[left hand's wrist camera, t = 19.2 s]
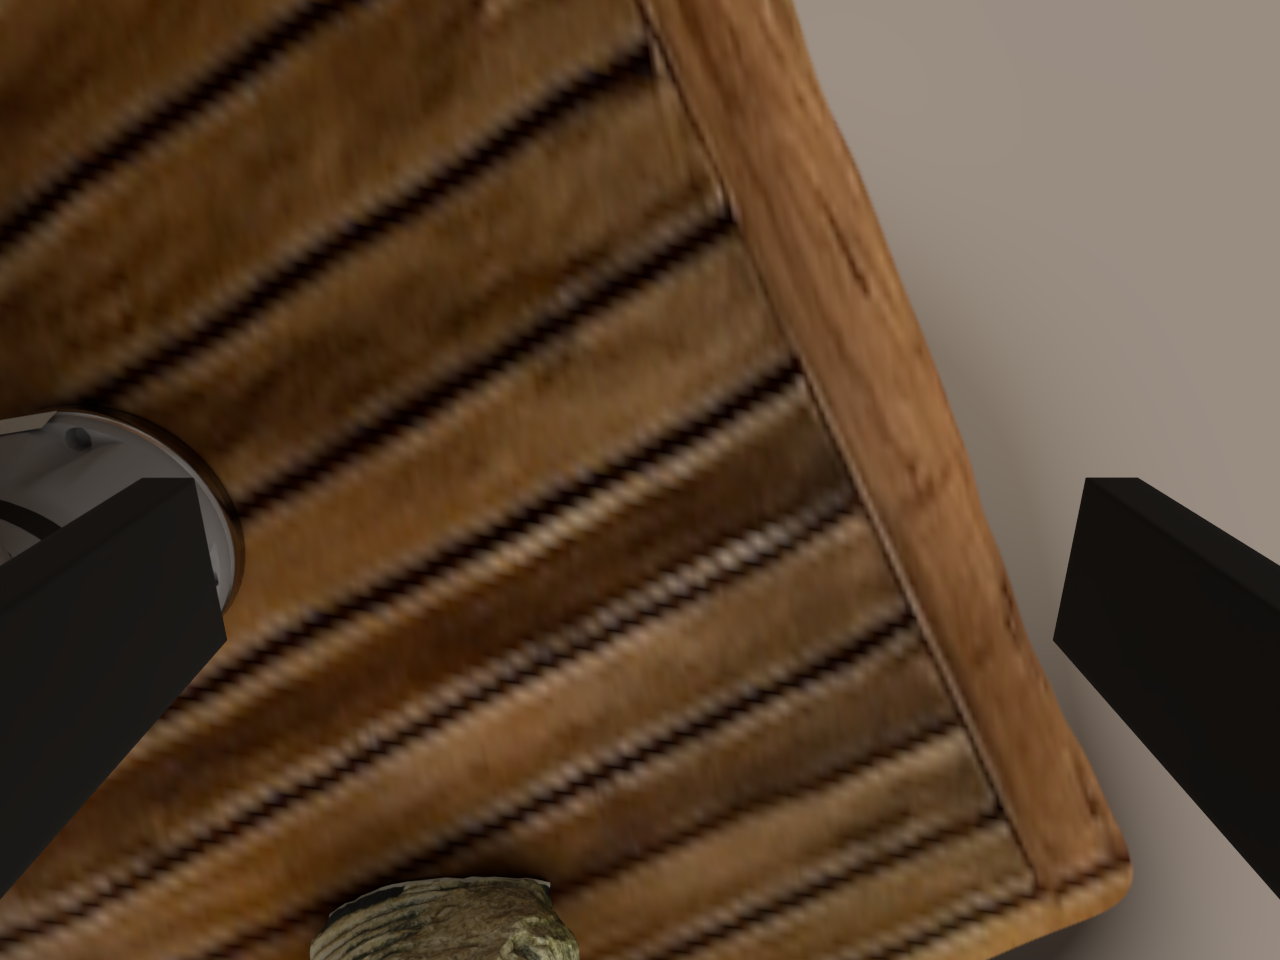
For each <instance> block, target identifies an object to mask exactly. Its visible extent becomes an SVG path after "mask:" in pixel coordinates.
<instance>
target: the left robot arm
mask: <svg viewBox="0 0 1280 960" xmlns="http://www.w3.org/2000/svg"><path fill="white" fill-rule="evenodd" d="M244 563H245V548H244V539H243V534H242V529H241V525H240V522H239V519H238V516H237V513H236V511H235V508H234V506H233V504H232V502H231V500H230V498H229V496H228V494H227V492H226V491H225V489H224V487H223V486H222V485H221V483H220V482H219V480H218V479H217V477H216V476H215V475H214V474H213V472H212V471H211V470H210V469H209V467H208V466H207V465H206V464H205V463H204V462H203V461H202V460H201V459H200V458H199V457H198V456H197V455H196V454H195V453H194V452H193V451H192V450H190V449H189V448H188V447H187V446H186V445H184V444H183V443H182V442H180V441H179V440H178V439H176V438H175V437H174V436H172V435H170V434H169V433H167V432H166V431H164V430H163V429H161V428H159V427H157V426H155V425H153V424H151V423H149V422H147V421H145V420H142V419H140V418H138V417H135V416H133V415H130V414H127V413H124V412H120V411H116V410H112V409H108V408H103V407H96V406H86V405H64V406H56V407H50V408H45V409H41V410H37V411H35V412H32V413H29V414H26V415H24V416H21V417H17V418H11V419H4V420H0V899H1V898H2V897H3V896H4V894H5V893H6V892H7V891H8V890H9V889H10V888H11V886H12V885H13V884H14V883H15V882H16V881H17V880H18V878H19V877H20V876H21V875H22V874H23V873H24V872H25V870H26V869H27V868H28V867H29V866H30V865H31V864H32V862H33V861H34V860H35V859H36V858H37V857H38V856H39V854H40V853H41V852H42V851H43V850H44V849H45V848H46V846H47V845H48V844H49V843H50V842H51V841H52V840H53V838H54V837H55V836H56V835H57V834H58V833H59V832H60V830H61V829H62V828H63V827H64V826H65V825H66V824H67V822H68V821H69V820H70V819H71V818H72V817H73V816H74V814H75V813H76V812H77V811H78V810H79V809H80V808H81V806H82V805H83V804H84V803H85V802H86V801H87V800H88V798H89V797H90V796H91V795H92V794H93V793H94V792H95V790H96V789H97V788H98V787H99V786H100V785H101V784H102V782H103V781H104V780H105V779H106V778H107V777H108V776H109V774H110V773H111V772H112V771H113V770H114V769H115V768H116V766H117V765H118V764H119V763H120V762H121V761H122V760H123V758H124V757H125V756H126V755H127V754H128V753H129V752H130V751H131V749H132V748H133V747H134V746H135V745H136V744H137V743H138V741H139V740H140V739H141V738H142V737H143V736H144V735H145V733H146V732H147V731H148V730H149V729H150V728H151V727H152V725H153V724H154V723H155V722H156V721H157V720H158V719H159V717H160V716H161V715H162V714H163V713H164V712H165V711H166V709H167V708H168V707H169V706H170V705H171V704H172V703H173V701H174V700H175V699H176V698H177V697H178V696H179V695H180V693H181V692H182V691H183V690H184V689H185V688H186V687H187V685H188V684H189V683H190V682H191V681H192V680H193V679H194V677H195V676H196V675H197V674H198V673H199V672H200V671H201V669H202V668H203V667H204V666H205V665H206V664H207V663H208V661H209V660H210V659H211V658H212V657H213V656H214V655H215V653H216V652H217V651H218V650H219V649H220V648H221V647H222V645H223V644H224V643H225V642H226V641H227V637H226V632H225V627H224V622H223V616H224V614H225V613H226V612H227V610H228V609H229V608H230V606H231V605H232V603H233V601H234V599H235V597H236V595H237V593H238V590H239V587H240V585H241V581H242V577H243V572H244ZM1053 641H1054V642H1055V643H1056V644H1057V645H1058V647H1059V648H1060V649H1061V650H1062V651H1063V652H1064V653H1065V655H1066V656H1067V657H1068V658H1069V659H1070V660H1071V661H1072V662H1073V664H1074V665H1075V666H1076V667H1077V668H1078V669H1079V671H1080V672H1081V673H1082V674H1083V675H1084V676H1085V677H1086V678H1087V680H1088V681H1089V682H1090V683H1091V684H1092V685H1093V687H1094V688H1095V689H1096V690H1097V691H1098V692H1099V693H1100V695H1101V696H1102V697H1103V698H1104V699H1105V700H1106V701H1107V702H1108V704H1109V705H1110V706H1111V707H1112V708H1113V709H1114V711H1115V712H1116V713H1117V714H1118V715H1119V716H1120V717H1121V719H1122V720H1123V721H1124V722H1125V723H1126V724H1127V725H1128V726H1129V728H1130V729H1131V730H1132V731H1133V732H1134V733H1135V734H1136V736H1137V737H1138V738H1139V739H1140V740H1141V741H1142V743H1143V744H1144V745H1145V746H1146V747H1147V748H1148V749H1149V750H1150V752H1151V753H1152V754H1153V755H1154V756H1155V757H1156V758H1157V760H1158V761H1159V762H1160V763H1161V764H1162V765H1163V766H1164V768H1165V769H1166V770H1167V771H1168V772H1169V773H1170V774H1171V776H1172V777H1173V778H1174V779H1175V780H1176V781H1177V782H1178V784H1179V785H1180V786H1181V787H1182V788H1183V789H1184V790H1185V792H1186V793H1187V794H1188V795H1189V796H1190V797H1191V798H1192V800H1193V801H1194V802H1195V803H1196V804H1197V805H1198V806H1199V808H1200V809H1201V810H1202V811H1203V812H1204V813H1205V814H1206V816H1207V817H1208V818H1209V819H1210V820H1211V821H1212V822H1213V824H1214V825H1215V826H1216V827H1217V828H1218V829H1219V830H1220V832H1221V833H1222V834H1223V835H1224V836H1225V837H1226V838H1227V840H1228V841H1229V842H1230V843H1231V844H1232V845H1233V846H1234V848H1235V849H1236V850H1237V851H1238V852H1239V853H1240V854H1241V856H1242V857H1243V858H1244V859H1245V860H1246V861H1247V862H1248V863H1249V865H1250V866H1251V867H1252V868H1253V869H1254V870H1255V872H1256V873H1257V874H1258V875H1259V876H1260V877H1261V878H1262V880H1263V881H1264V882H1265V883H1266V884H1267V885H1268V886H1269V888H1270V889H1271V890H1272V891H1273V892H1274V893H1275V894H1276V896H1277V897H1278V898H1279V899H1280V566H1279V565H1278V564H1276V563H1274V562H1273V561H1271V560H1270V559H1268V558H1266V557H1265V556H1263V555H1262V554H1260V553H1258V552H1257V551H1255V550H1254V549H1252V548H1250V547H1249V546H1247V545H1245V544H1244V543H1242V542H1241V541H1239V540H1237V539H1236V538H1234V537H1233V536H1231V535H1229V534H1228V533H1226V532H1225V531H1223V530H1221V529H1220V528H1218V527H1216V526H1215V525H1213V524H1212V523H1210V522H1208V521H1207V520H1205V519H1204V518H1202V517H1200V516H1199V515H1197V514H1196V513H1194V512H1192V511H1191V510H1189V509H1188V508H1186V507H1184V506H1183V505H1181V504H1179V503H1178V502H1176V501H1175V500H1173V499H1171V498H1170V497H1168V496H1167V495H1165V494H1163V493H1162V492H1160V491H1159V490H1157V489H1155V488H1154V487H1152V486H1150V485H1149V484H1147V483H1146V482H1144V481H1142V480H1141V479H1139V478H1086V479H1085V484H1084V489H1083V494H1082V499H1081V504H1080V509H1079V514H1078V519H1077V523H1076V529H1075V533H1074V538H1073V543H1072V548H1071V553H1070V558H1069V563H1068V568H1067V573H1066V578H1065V583H1064V588H1063V593H1062V598H1061V603H1060V608H1059V613H1058V617H1057V622H1056V627H1055V632H1054V637H1053Z"/></svg>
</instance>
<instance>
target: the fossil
mask: <svg viewBox="0 0 1280 960" xmlns="http://www.w3.org/2000/svg"><path fill="white" fill-rule="evenodd" d="M549 891H550V883H549V882H545V881H541V880H536V879H531V878H505V877H468V878H465V879H459V878H437V879H428V880H418V881H409V882H403V883H398V884H392V885H389V886H385V887H381V888H379V889H377V890H375V891H372V892H370V893H367V894H365V895H362V896H360V897H359V898H358V899H356V900H355V901H352V902H348V903H345V904H344V905H342V906H340V907H339V908H338V909H336V910H335V911H333V912H332V913H331V914H330V915H329V919H328V921H327V923H326V925H325V926H324V928H323V929H322V930H321V932H320V933H319V934H318V935H317V936H316V937H315V938H314V939H313V940H312V942H311V946H310V951H309V953H310V959H311V960H580V958H579V944H578V942H577V940H576V938H575V936H574V934H573V932H572V931H571V930H569V929H568V928H567V927H566V926H565V924H564V923H563V922H562V921H561V920H560V919H559V917H558V915H557V913H556V912H554V911H553V910H552V906H553V905H552V902H551V898H550V895H549Z"/></svg>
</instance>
